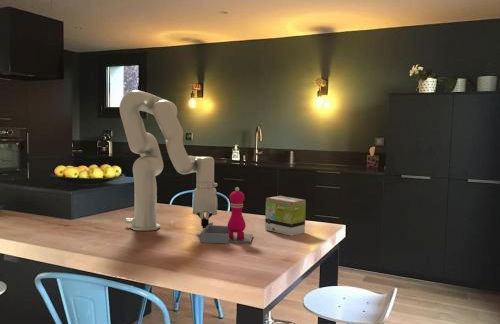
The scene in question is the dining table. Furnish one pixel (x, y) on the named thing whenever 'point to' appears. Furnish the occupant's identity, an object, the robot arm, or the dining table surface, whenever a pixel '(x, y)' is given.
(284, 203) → the tea box
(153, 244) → the dining table surface
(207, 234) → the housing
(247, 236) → the base plate
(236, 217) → the pepper mill
